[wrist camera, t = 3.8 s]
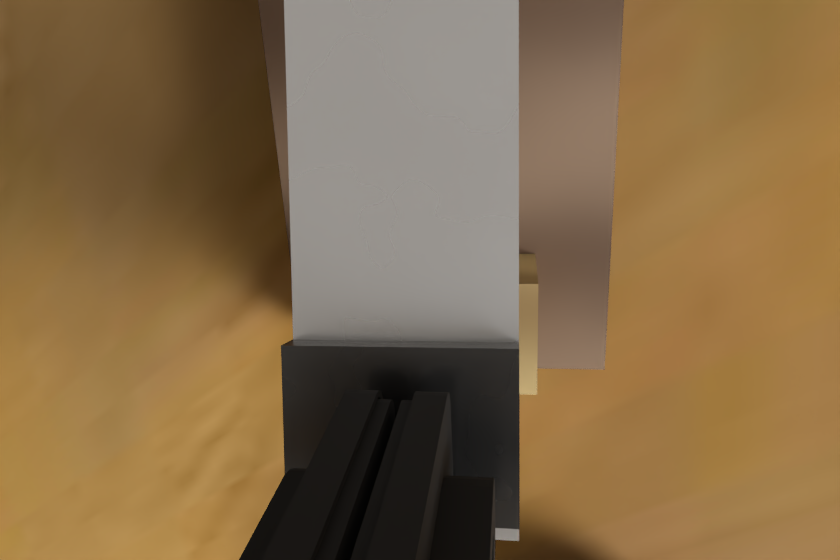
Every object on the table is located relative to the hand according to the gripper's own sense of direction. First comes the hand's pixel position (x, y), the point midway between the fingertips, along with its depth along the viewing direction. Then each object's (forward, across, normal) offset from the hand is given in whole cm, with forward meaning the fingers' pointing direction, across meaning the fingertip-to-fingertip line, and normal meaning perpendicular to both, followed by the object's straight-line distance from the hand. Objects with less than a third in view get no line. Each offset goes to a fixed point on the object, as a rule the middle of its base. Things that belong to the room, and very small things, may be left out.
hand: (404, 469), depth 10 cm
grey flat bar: (+4, 0, -6) cm, 7 cm away
